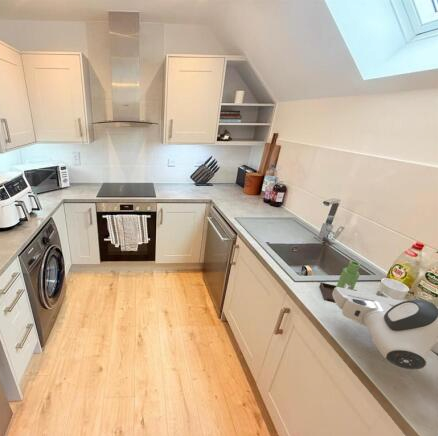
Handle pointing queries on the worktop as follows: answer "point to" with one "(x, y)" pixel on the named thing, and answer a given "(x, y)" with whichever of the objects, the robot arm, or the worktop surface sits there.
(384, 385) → the worktop surface
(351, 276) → the soap bottle
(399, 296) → the white cup
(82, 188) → the worktop surface
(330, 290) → the tray
